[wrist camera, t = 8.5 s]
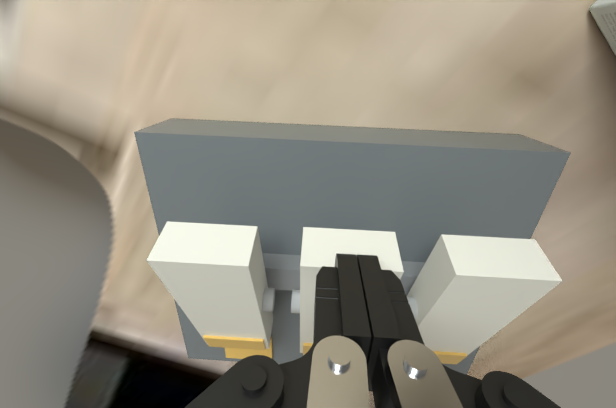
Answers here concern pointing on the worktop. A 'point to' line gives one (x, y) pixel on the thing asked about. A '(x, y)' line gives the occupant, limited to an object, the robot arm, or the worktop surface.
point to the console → (341, 195)
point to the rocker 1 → (217, 281)
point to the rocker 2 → (476, 290)
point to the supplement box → (606, 20)
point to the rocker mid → (322, 252)
